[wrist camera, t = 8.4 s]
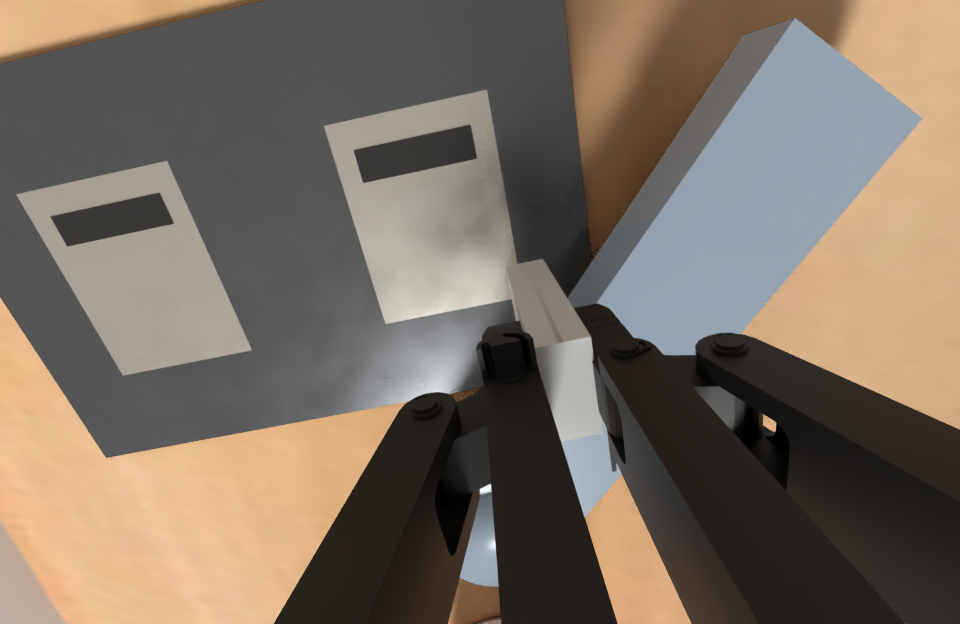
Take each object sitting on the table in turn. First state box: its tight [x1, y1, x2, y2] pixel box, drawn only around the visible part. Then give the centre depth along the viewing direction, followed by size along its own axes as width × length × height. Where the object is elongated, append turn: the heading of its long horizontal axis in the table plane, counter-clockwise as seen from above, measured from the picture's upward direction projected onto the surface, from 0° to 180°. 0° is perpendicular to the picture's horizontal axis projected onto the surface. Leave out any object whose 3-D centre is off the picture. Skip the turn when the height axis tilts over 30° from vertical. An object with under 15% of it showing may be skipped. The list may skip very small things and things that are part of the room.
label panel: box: [0, 0, 592, 458], centre depth 18 cm, size 24×16×1 cm, turn 101°
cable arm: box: [460, 18, 922, 587], centre depth 17 cm, size 5×22×3 cm, turn 151°
